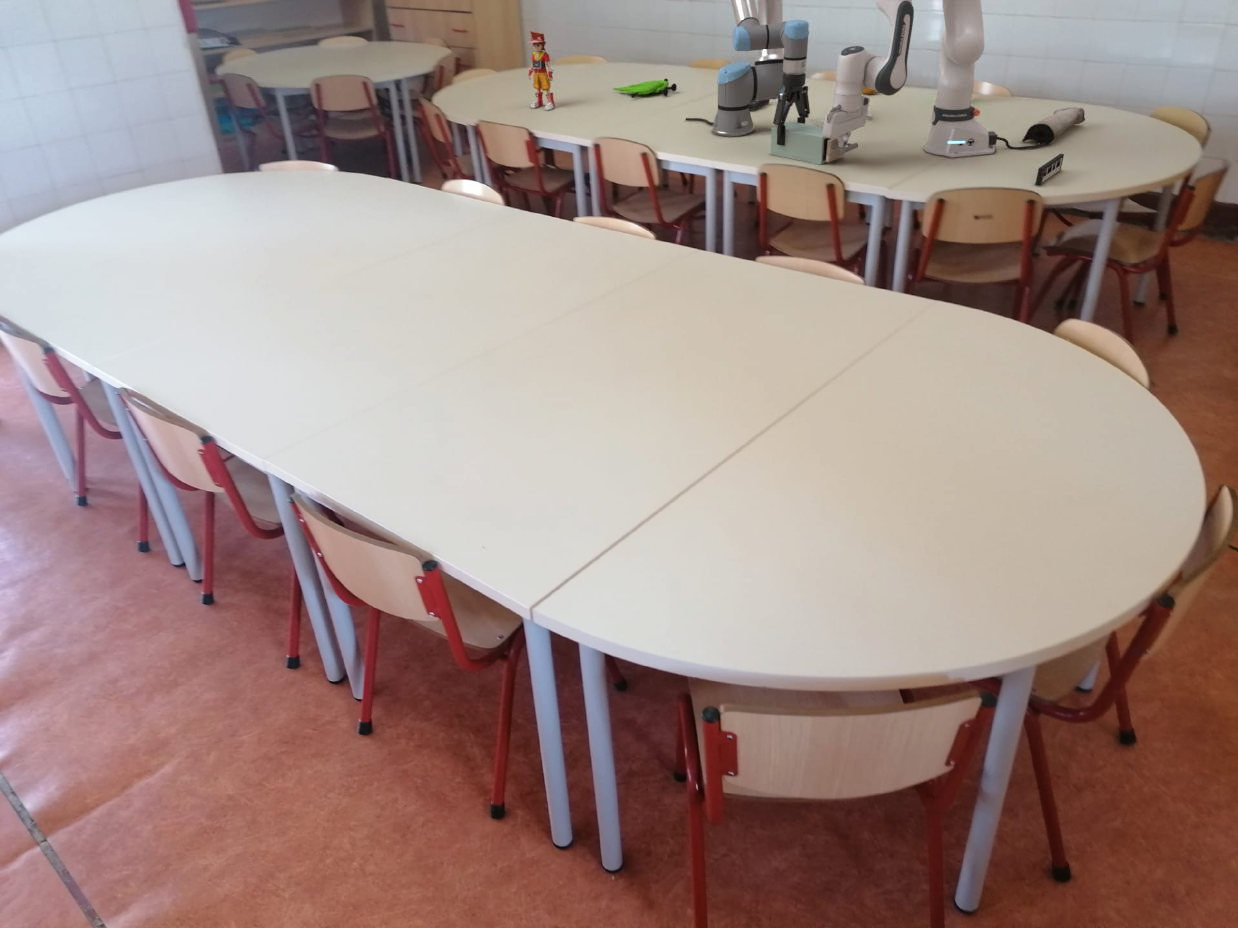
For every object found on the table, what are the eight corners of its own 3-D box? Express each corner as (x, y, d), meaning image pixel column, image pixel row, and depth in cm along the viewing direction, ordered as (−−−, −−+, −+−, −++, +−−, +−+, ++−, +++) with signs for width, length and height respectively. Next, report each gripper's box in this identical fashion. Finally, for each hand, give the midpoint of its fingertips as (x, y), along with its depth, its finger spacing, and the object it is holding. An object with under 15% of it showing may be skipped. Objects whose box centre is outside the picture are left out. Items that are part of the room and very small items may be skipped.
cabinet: (838, 157, 304) (841, 130, 299) (820, 164, 298) (823, 137, 293) (788, 147, 316) (789, 121, 311) (770, 154, 310) (771, 128, 305)
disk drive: (754, 111, 359) (769, 102, 369) (754, 104, 357) (770, 95, 367) (731, 109, 364) (746, 100, 374) (731, 102, 362) (747, 93, 372)
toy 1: (525, 109, 381) (517, 32, 364) (534, 104, 388) (527, 28, 371) (550, 110, 377) (543, 32, 360) (559, 105, 384) (553, 28, 367)
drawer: (858, 158, 298) (860, 137, 294) (842, 165, 293) (844, 143, 289) (796, 146, 313) (797, 126, 309) (780, 153, 308) (781, 132, 304)
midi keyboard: (1039, 185, 269) (1043, 168, 266) (1035, 184, 270) (1038, 168, 267) (1060, 170, 279) (1064, 154, 277) (1056, 169, 280) (1060, 153, 277)
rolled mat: (1051, 112, 323) (1076, 94, 315) (1065, 133, 323) (1091, 116, 315) (1017, 135, 306) (1043, 117, 298) (1032, 158, 306) (1058, 140, 298)
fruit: (854, 86, 370) (866, 68, 367) (856, 89, 378) (868, 72, 375) (870, 97, 369) (883, 79, 366) (872, 100, 376) (884, 83, 373)
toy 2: (686, 85, 398) (631, 84, 414) (685, 72, 395) (629, 72, 411) (651, 104, 381) (596, 103, 397) (650, 92, 378) (594, 91, 394)
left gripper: (782, 80, 287) (779, 150, 299) (823, 67, 300) (818, 135, 313) (763, 78, 291) (761, 147, 304) (805, 65, 304) (800, 132, 317)
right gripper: (836, 110, 279) (832, 155, 287) (872, 97, 291) (867, 141, 299) (820, 107, 283) (816, 152, 291) (856, 95, 295) (851, 138, 303)
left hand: (790, 141), depth 308 cm, fingers closed on cabinet, 11 cm apart
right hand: (842, 146), depth 295 cm, fingers closed
